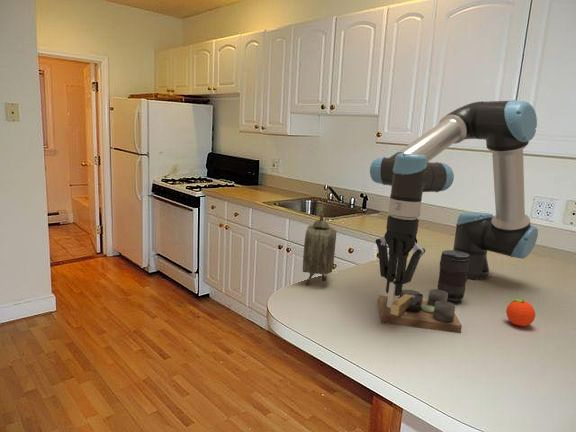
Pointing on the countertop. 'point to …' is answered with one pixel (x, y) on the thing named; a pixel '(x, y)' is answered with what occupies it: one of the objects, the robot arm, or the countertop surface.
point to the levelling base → (424, 313)
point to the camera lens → (453, 274)
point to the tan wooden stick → (407, 302)
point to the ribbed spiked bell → (319, 248)
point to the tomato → (520, 312)
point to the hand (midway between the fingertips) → (391, 306)
